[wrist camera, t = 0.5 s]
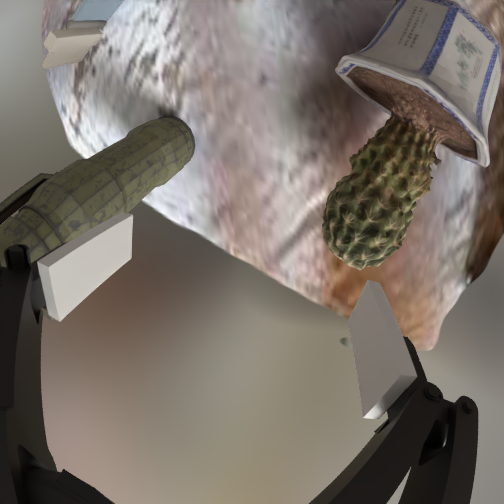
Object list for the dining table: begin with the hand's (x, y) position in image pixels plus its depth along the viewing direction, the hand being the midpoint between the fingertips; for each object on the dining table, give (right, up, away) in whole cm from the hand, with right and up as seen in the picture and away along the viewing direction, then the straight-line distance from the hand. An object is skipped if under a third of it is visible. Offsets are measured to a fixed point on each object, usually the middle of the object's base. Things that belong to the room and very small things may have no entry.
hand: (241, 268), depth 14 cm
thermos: (-12, +17, +24) cm, 32 cm away
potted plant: (+18, +19, +15) cm, 30 cm away
